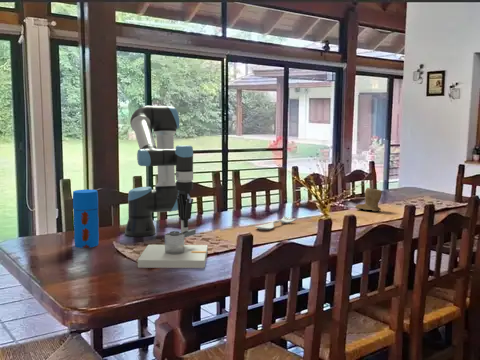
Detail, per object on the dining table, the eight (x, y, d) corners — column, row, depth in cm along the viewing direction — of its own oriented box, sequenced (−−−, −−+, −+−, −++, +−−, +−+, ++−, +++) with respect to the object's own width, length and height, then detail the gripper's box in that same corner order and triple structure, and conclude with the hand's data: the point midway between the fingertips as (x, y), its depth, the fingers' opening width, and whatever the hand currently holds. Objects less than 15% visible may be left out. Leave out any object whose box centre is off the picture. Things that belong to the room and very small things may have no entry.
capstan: (176, 255, 198) (176, 235, 197) (160, 252, 202) (160, 232, 201) (201, 245, 214) (201, 227, 213) (186, 243, 218) (186, 225, 217)
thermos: (73, 248, 219) (71, 193, 216) (74, 242, 229) (73, 189, 226) (99, 247, 222) (97, 192, 219) (99, 241, 232) (97, 189, 229)
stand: (137, 267, 192) (137, 259, 192) (148, 251, 216) (148, 243, 215) (204, 268, 192) (204, 259, 192) (207, 251, 216) (207, 244, 216)
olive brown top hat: (384, 210, 321) (385, 188, 319) (375, 213, 312) (376, 189, 310) (363, 207, 331) (364, 185, 329) (354, 210, 322) (355, 187, 320)
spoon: (297, 223, 280) (298, 217, 280) (265, 232, 255) (265, 226, 255) (284, 221, 286) (284, 215, 285) (251, 230, 261) (251, 223, 260)
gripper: (170, 179, 217) (170, 232, 220) (182, 183, 206) (182, 238, 209) (186, 179, 221) (186, 230, 223) (198, 182, 210) (198, 236, 212)
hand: (184, 234), depth 216 cm, fingers closed
